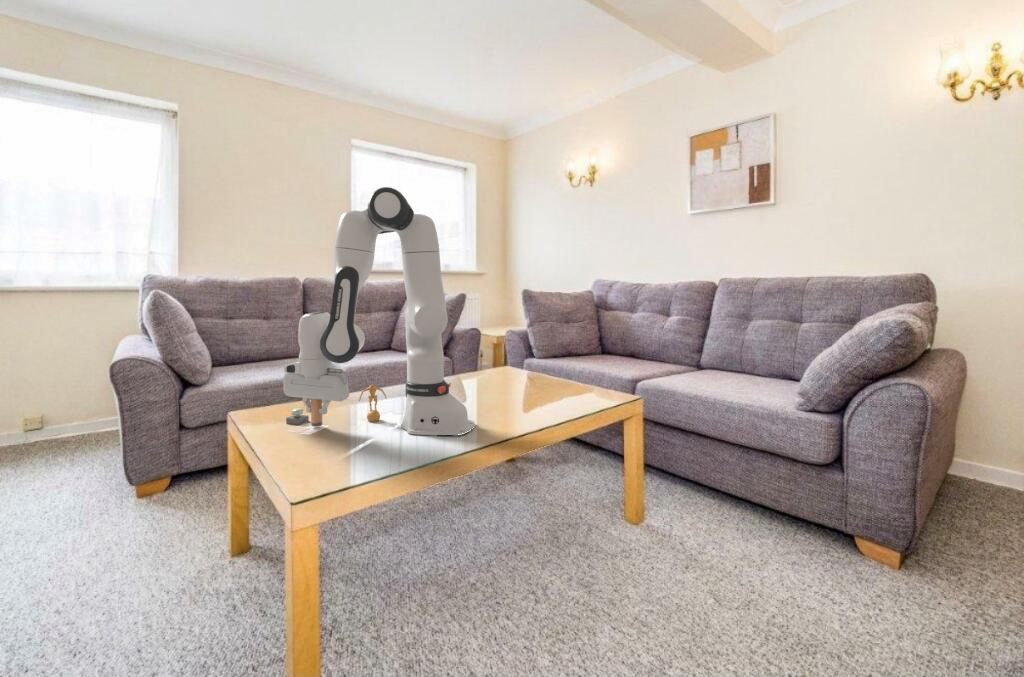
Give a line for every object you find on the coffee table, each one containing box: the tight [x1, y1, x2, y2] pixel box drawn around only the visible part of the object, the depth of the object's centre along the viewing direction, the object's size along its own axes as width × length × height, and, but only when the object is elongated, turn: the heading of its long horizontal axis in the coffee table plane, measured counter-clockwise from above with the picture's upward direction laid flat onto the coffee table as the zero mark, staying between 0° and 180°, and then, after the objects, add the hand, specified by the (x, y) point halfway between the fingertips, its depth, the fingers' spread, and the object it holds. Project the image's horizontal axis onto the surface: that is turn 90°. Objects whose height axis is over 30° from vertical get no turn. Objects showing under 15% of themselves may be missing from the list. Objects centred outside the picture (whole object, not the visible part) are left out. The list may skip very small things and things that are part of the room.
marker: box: [310, 399, 323, 427], centre depth 137 cm, size 3×3×9 cm
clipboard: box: [283, 414, 330, 436], centre depth 137 cm, size 14×12×2 cm
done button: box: [290, 407, 304, 418], centre depth 142 cm, size 3×3×3 cm
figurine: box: [358, 383, 387, 423], centre depth 146 cm, size 8×6×12 cm
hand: (316, 413), depth 137 cm, fingers closed on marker, 3 cm apart
